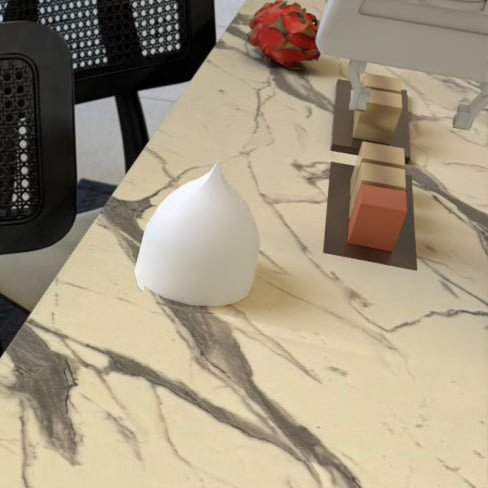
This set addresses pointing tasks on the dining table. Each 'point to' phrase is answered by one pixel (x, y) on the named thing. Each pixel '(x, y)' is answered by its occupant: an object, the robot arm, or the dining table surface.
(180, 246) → the teardrop
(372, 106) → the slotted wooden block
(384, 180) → the grooved block on base
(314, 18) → the dragon fruit
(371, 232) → the rust red cube
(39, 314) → the dining table surface
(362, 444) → the dining table surface
